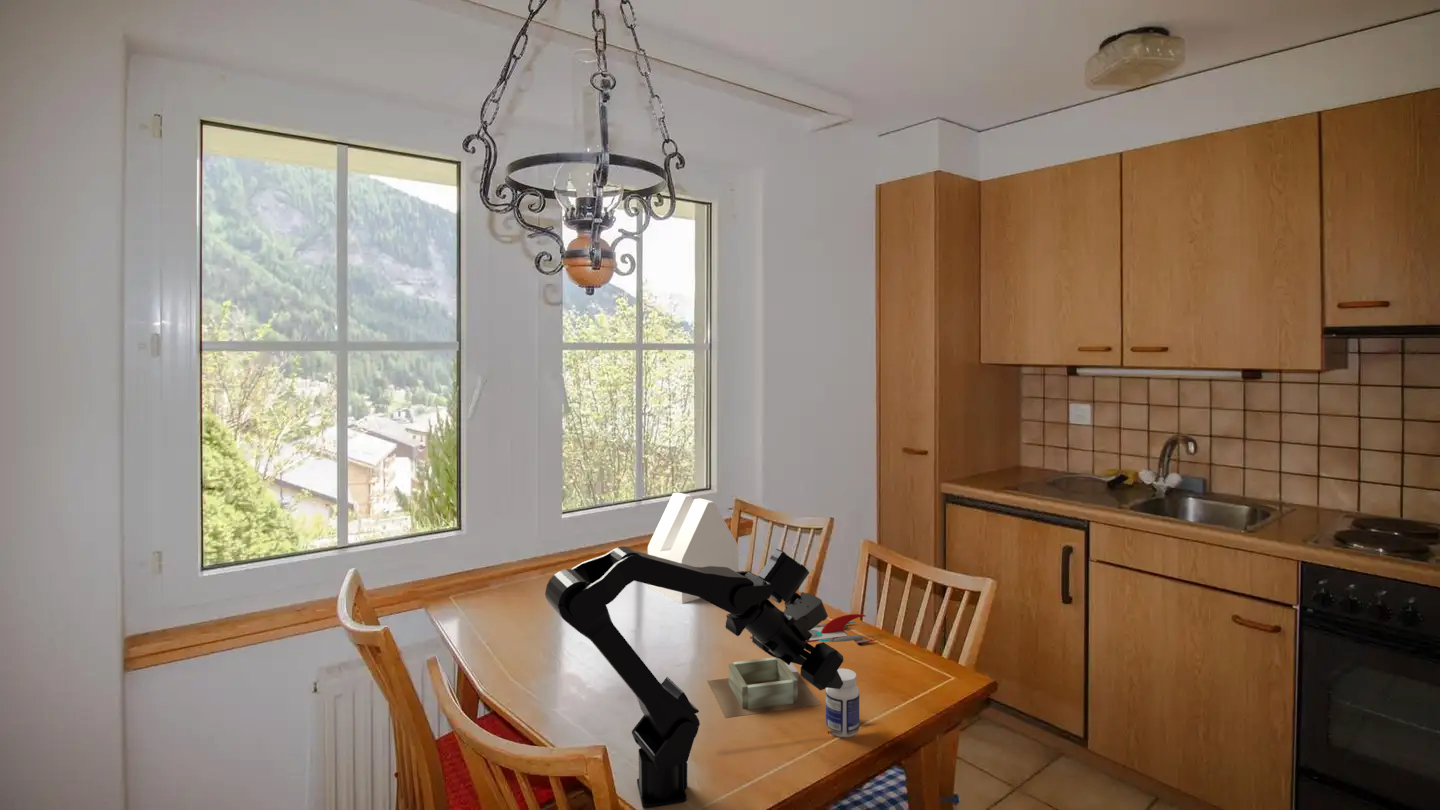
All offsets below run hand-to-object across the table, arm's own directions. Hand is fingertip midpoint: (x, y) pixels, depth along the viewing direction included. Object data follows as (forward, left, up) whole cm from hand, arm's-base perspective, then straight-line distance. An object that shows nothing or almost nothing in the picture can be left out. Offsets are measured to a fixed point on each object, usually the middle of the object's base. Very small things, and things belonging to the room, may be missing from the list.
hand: (823, 674), depth 119 cm
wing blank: (0, +20, -10) cm, 22 cm away
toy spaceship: (+12, +37, -12) cm, 40 cm away
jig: (-6, +15, -11) cm, 20 cm away
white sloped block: (-6, +77, -11) cm, 78 cm away
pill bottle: (+4, +1, -11) cm, 12 cm away
